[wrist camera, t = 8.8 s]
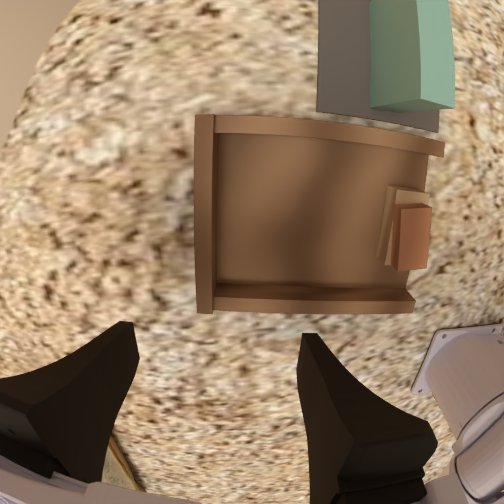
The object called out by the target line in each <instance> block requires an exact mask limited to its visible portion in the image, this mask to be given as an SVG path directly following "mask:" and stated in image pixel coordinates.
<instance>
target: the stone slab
mask: <svg viewBox="0 0 504 504" xmlns="http://www.w3.org/2000/svg"><path fill="white" fill-rule="evenodd" d="M101 482H104V483H109V484H113V485H117V486H121V487H124V488H129V489H133V490H137V491H141V492H146V490H145V489H144V488H143V487H141V486H140V485H138V484H137V483H136V481H135V480H134V477H133V474H132V471H131V470H130V468H129V466H128V463H127V462H126V460H125V458H124V456H123V454H122V452H121V451H120V449H119V447H118V445H117V444H116V442H115V440H114V439H113V437H112V435H111V437H110V440H109V444H108V449H107V453H106V458H105V463H104V468H103V474H102V481H101ZM146 493H147V492H146Z"/></svg>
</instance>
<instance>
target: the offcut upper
mask: <svg viewBox="0 0 504 504" xmlns="http://www.w3.org/2000/svg"><path fill="white" fill-rule="evenodd" d="M431 213H432V207H430V206H428V205H426V204H423V203H415V204H394V205H393V232H392V251H391V265H392V266H393V267H394V269H395V270H396V271H397V272H399V271H408V270H416V269H424V268H427V260H428V251H429V240H430V228H431Z"/></svg>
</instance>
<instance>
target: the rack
mask: <svg viewBox="0 0 504 504" xmlns="http://www.w3.org/2000/svg"><path fill="white" fill-rule="evenodd" d="M444 147H445V142H442V141H438V140H433V139H429V138H425V137H420V136H415V135H410V134H405V133H400V132H395V131H390V130H384V129H378V128H372V127H365V126H359V125H352V124H344V123H336V122H328V121H319V120H309V119H297V118H284V117H268V116H243V115H214V114H210V115H195V135H194V246H195V278H196V302H197V313H202V314H213V310H219V311H238V312H261V313H292V314H400V313H412V312H413V309H414V306H415V302H416V301H415V299H414V298H413V297H412V296H411V295H410V293H409V292H408V291H407V290H406V289H405V287H406V283H407V279H408V275H409V271H410V270H408V271H399V272H397V271H396V270H395V269H394V267H393V266H392V265H384V264H383V263H382V262H381V260H380V259H379V258H378V257H377V251H378V245H379V239H380V233H381V227H382V220H383V214H384V207H385V199H386V191H387V185H391V186H399V187H406V188H414V189H419V190H422V191H424V190H425V182H426V174H427V165H428V155H433V156H438V157H443V158H444Z"/></svg>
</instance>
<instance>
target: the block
mask: <svg viewBox="0 0 504 504" xmlns="http://www.w3.org/2000/svg"><path fill="white" fill-rule="evenodd" d="M369 14H370V46H371V76H370V108H373V109H379V110H384V111H389V112H394V113H401V112H412V111H423V110H436V109H453V108H455V67H454V48H453V36H452V26H451V17H450V9H449V2H448V0H372V1H371V2H370V3H369Z"/></svg>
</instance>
